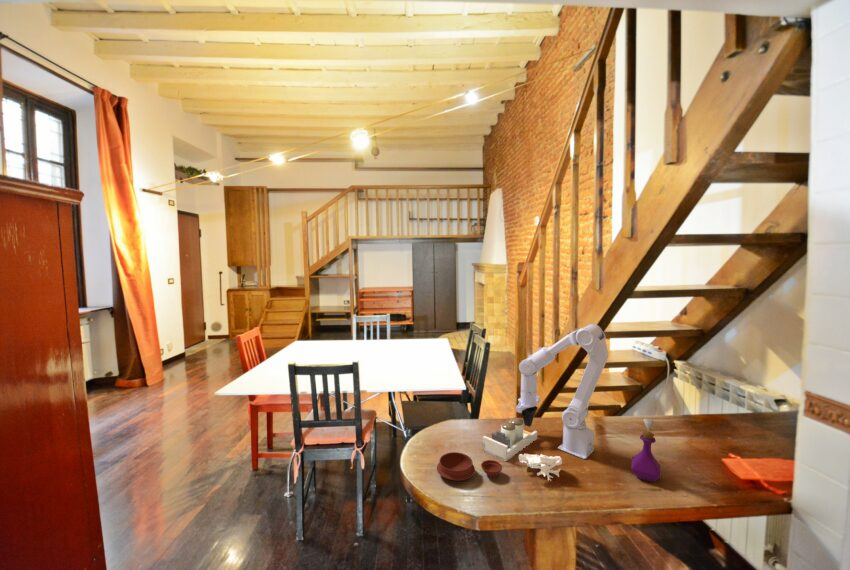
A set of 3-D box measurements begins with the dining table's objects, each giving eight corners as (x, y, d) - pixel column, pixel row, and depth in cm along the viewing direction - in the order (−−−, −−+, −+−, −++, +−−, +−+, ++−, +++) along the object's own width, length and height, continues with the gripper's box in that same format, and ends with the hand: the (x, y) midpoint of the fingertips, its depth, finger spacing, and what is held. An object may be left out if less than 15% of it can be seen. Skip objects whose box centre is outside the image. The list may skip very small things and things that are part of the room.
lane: (537, 438, 134) (537, 425, 134) (505, 461, 119) (506, 447, 119) (515, 430, 140) (515, 417, 140) (482, 450, 126) (482, 436, 125)
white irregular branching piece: (570, 458, 111) (541, 460, 106) (570, 482, 110) (540, 485, 104) (541, 447, 121) (513, 448, 116) (540, 468, 120) (512, 471, 115)
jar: (518, 444, 128) (518, 425, 128) (506, 439, 132) (506, 420, 131) (525, 439, 132) (526, 421, 131) (514, 434, 135) (514, 416, 135)
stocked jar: (518, 444, 128) (518, 425, 127) (510, 450, 125) (510, 430, 124) (505, 439, 132) (506, 420, 131) (497, 444, 128) (498, 425, 128)
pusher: (509, 451, 123) (510, 435, 123) (507, 453, 122) (508, 436, 122) (493, 444, 128) (493, 428, 127) (491, 445, 127) (491, 429, 126)
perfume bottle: (659, 487, 106) (663, 428, 105) (630, 479, 110) (633, 421, 109) (659, 474, 113) (663, 418, 111) (631, 466, 117) (634, 412, 115)
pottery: (436, 463, 118) (436, 450, 118) (498, 464, 118) (498, 451, 117) (436, 486, 107) (437, 472, 106) (505, 487, 106) (506, 473, 106)
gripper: (528, 382, 144) (527, 415, 145) (508, 392, 134) (508, 428, 135) (545, 387, 139) (544, 421, 140) (526, 397, 129) (525, 434, 130)
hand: (527, 425), depth 137 cm, fingers closed
